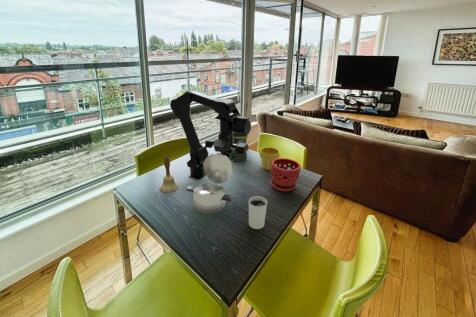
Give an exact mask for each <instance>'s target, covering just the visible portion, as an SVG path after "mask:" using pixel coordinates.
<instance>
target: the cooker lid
mask: <svg viewBox="0 0 476 317" xmlns="http://www.w3.org/2000/svg"><path fill="white" fill-rule="evenodd" d="M231 161H232V160H231V159H229V158H228V157H227V156H225V155H223V154H221V152H214V153H211V154H208V157H207V158H206V159H205V162H204V172H205V174H206V175H205V176H206V177H207V179H208V180H210V182H212V183H213V184H217V185H220V184H225V183H226V182H228V181H229V180H230V179H231V178H232V176H233V171H234V168H233V164H232V162H231Z"/></svg>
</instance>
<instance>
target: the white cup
mask: <svg viewBox="0 0 476 317" xmlns="http://www.w3.org/2000/svg"><path fill="white" fill-rule="evenodd" d="M267 207H268V200H267V199H266V198H264V197H262V196H257V195H256V196H252V197H250V198H249V199H248V225H249V227H250V228H251V229H255V230H260V229H262V228H264V227H265V221H266V214H267Z"/></svg>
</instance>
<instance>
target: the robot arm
mask: <svg viewBox="0 0 476 317" xmlns="http://www.w3.org/2000/svg"><path fill="white" fill-rule="evenodd" d="M192 103H196V104H200V105H202V106H205V107H207V108H211V109H212V110H213V111H214V112H215V113H216V114H217V116H215V120H219V133H218V137H217V138H216V137H215V138H214V137H209V138H208V139H207V140H205V142H204V146H203V144H201V143H200V140H199V137H198V134H197V132H196V128H195V126H194V123H193V121H192V118H191V115H190V114H191V104H192ZM169 104H170V105H169V106H170V108H171V111H172V113H173V114H174V115H175V116H176V117H177V118H178V119H179V121H180V124H181V127H182V128H183V131H184V134H185V137H186V139H187V142H188V145H189V147H190V149H189V158H190V159H189V160H188V161H187V162H186V165H187V167H188V168H189V171H190V174H189V175H188V178H191V179H196V180H201V179H202V178H203V177H204V176H206V174H205V172H204V162H205V159H206V158H207V157H208V156H209V155H210V154H209V151H208V149H211V148H213V149H214V151H215V153H221V154H223V155H225V156H227V157H228V158H229V160H231V159H230V156H231V154H232V153H233V152H234V151H236V152H237V153H240V154H245V153H247V152H248V151H249V145H248V144H249V143H247V142H246V143H239V144H238V145H236V144H233V143H234V140H233V134H234V132H236V133H241V134H246V135H248V136H249V134H250V133H251V130H252V123H251V120H250V118H249V117H246V116H245V117H244V116H242V114H241V113H240V111H239V110H238V108H237V106H236V103H235V101H234V100H233V99H229V98H216V97H213V96H210V95H208V94H205V93H202V92H199V91H196V90H195V89H191V90H186V91H185V92H184V93H182V94H181V95H180V96H178V97H176V98H172V99H171V101H170V103H169ZM207 148H208V149H207Z"/></svg>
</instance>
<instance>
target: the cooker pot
mask: <svg viewBox="0 0 476 317" xmlns="http://www.w3.org/2000/svg"><path fill="white" fill-rule="evenodd" d="M185 188H186V191H187V192H190V193H192V197H193V198H192V199H193V208H194V210H196V211H197V212H199V213H201V214H205V215H206V214H208V215H210V214H211V215H212V214H215V213H219V212H221V211H222V210H223V209H224V208H225V206H226V202H230V203H232V200H234V199H233V198H234V196H233V195H228V194H226V190H225V188H224V187H223V186H222V185H220V184H217V183H204V184H200V185H198V186H193V185H188V186H187V187H185Z"/></svg>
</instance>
